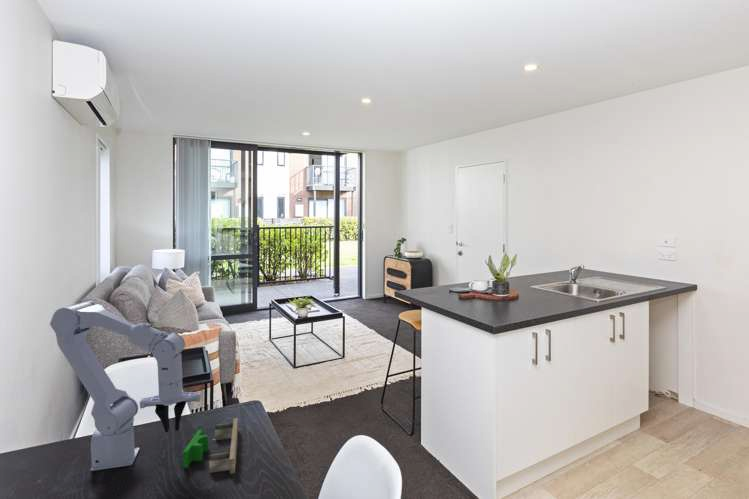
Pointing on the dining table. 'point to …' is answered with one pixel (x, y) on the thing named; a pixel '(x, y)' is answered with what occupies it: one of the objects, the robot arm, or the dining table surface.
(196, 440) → the pipe clamp
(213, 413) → the dining table surface
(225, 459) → the wooden drawer handle
